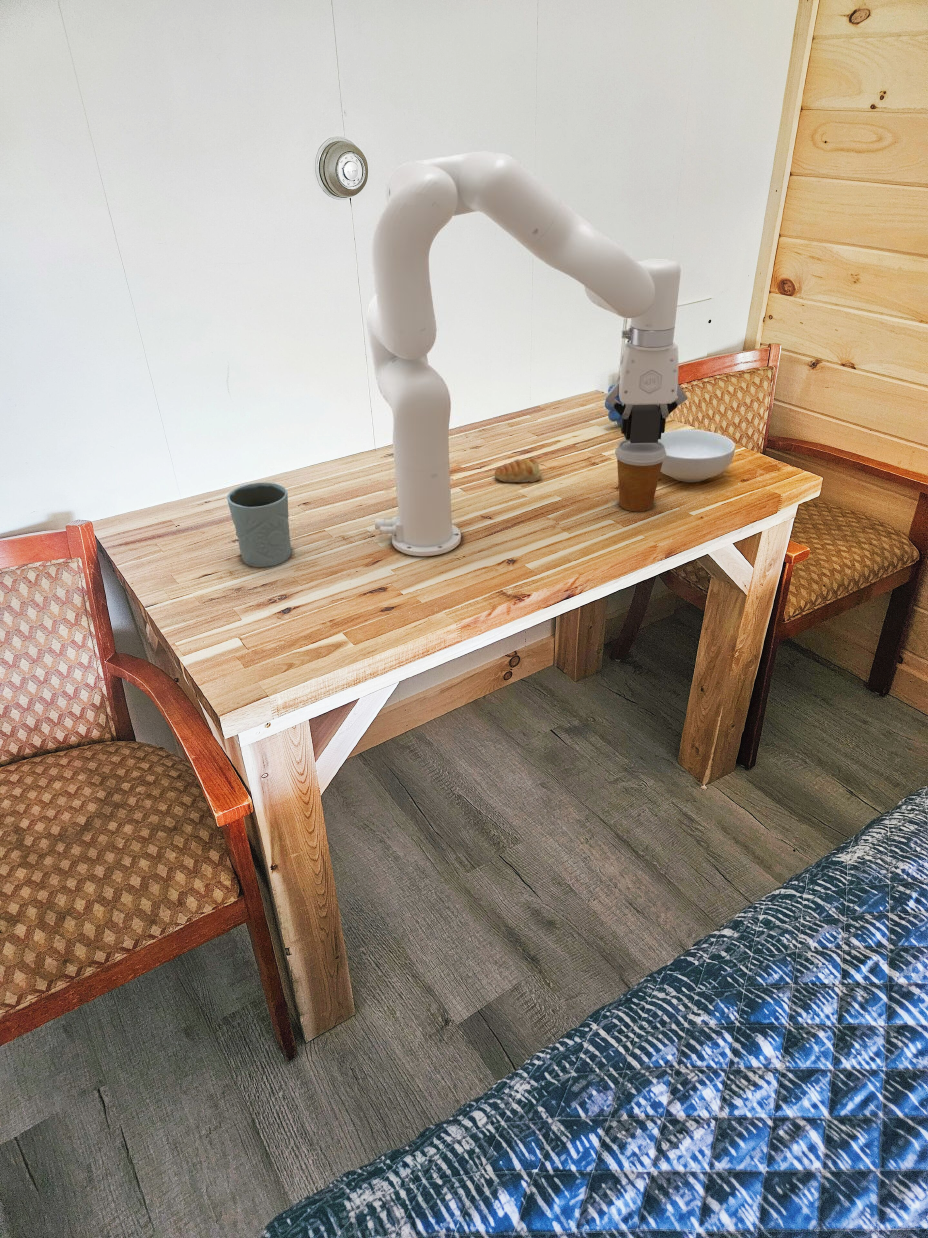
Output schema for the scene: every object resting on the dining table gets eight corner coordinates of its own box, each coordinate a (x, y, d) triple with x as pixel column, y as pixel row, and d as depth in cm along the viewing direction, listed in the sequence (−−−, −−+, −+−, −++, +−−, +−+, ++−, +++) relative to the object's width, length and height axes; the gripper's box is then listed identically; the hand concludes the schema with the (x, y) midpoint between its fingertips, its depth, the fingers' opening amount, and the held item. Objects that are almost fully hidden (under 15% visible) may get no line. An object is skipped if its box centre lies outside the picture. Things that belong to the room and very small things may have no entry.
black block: (630, 443, 150) (633, 411, 147) (626, 433, 154) (629, 402, 151) (657, 442, 150) (661, 410, 147) (653, 433, 154) (656, 401, 151)
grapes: (616, 436, 190) (620, 385, 184) (597, 428, 195) (600, 378, 189) (653, 426, 196) (658, 375, 189) (633, 418, 200) (637, 369, 194)
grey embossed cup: (247, 542, 150) (235, 482, 144) (302, 542, 150) (292, 481, 144) (232, 570, 142) (219, 506, 135) (290, 569, 142) (280, 506, 135)
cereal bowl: (701, 455, 180) (706, 423, 176) (746, 483, 166) (752, 450, 162) (632, 466, 175) (635, 434, 172) (672, 496, 162) (676, 463, 158)
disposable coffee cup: (664, 514, 155) (671, 455, 149) (614, 515, 156) (619, 456, 149) (655, 493, 163) (662, 436, 157) (607, 494, 164) (612, 437, 157)
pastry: (499, 486, 169) (499, 469, 166) (491, 474, 174) (490, 457, 172) (542, 481, 170) (543, 463, 168) (533, 469, 176) (533, 452, 174)
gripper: (604, 343, 139) (598, 445, 149) (705, 341, 139) (692, 443, 149) (599, 332, 146) (593, 430, 156) (696, 329, 145) (684, 429, 155)
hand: (642, 435), depth 152 cm, fingers closed on black block, 5 cm apart
